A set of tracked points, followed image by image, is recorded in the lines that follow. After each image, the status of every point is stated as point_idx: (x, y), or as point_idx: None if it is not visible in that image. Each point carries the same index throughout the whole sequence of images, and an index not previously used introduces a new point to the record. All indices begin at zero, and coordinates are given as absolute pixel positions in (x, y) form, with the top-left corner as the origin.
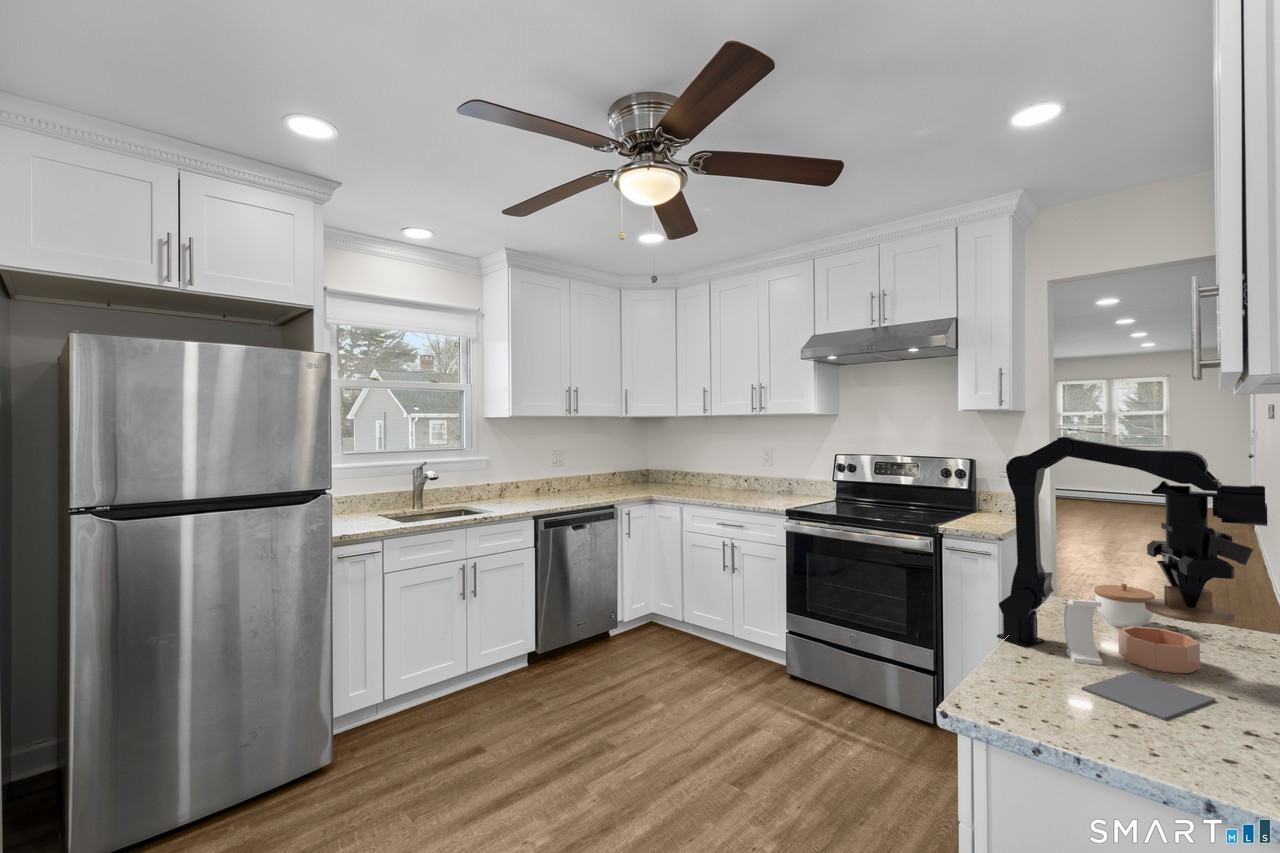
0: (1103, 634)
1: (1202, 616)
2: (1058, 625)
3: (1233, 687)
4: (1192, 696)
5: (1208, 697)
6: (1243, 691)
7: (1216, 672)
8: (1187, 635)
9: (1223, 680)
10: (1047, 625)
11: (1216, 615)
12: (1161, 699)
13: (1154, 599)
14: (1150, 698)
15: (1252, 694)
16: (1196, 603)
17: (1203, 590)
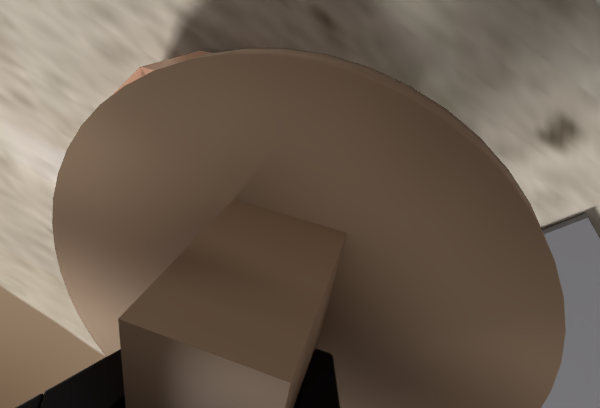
0: (31, 170)
1: (477, 383)
2: (9, 246)
3: (454, 54)
4: (562, 273)
5: (576, 233)
6: (495, 41)
7: (299, 12)
8: (140, 68)
9: (382, 43)
10: (24, 272)
11: (445, 272)
12: (580, 368)
13: (106, 351)
14: (571, 388)
15: (528, 25)
16: (336, 388)
17: (218, 400)
